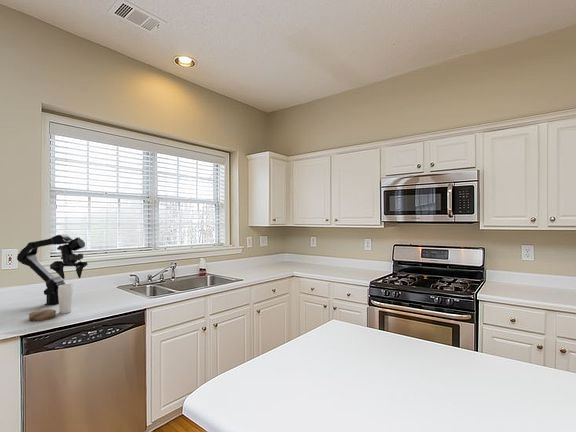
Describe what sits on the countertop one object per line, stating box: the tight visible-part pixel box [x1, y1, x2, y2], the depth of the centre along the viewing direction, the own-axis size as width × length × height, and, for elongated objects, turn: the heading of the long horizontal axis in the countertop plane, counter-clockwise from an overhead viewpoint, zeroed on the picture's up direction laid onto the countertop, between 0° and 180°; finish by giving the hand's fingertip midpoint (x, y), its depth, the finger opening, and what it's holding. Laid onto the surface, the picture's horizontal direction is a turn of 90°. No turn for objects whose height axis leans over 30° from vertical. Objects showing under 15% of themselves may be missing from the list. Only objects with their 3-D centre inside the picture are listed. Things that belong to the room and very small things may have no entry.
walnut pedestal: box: [28, 308, 57, 323], centre depth 169 cm, size 11×11×3 cm
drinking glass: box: [58, 283, 74, 315], centre depth 179 cm, size 7×7×15 cm
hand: (71, 278), depth 191 cm, fingers open, 9 cm apart
